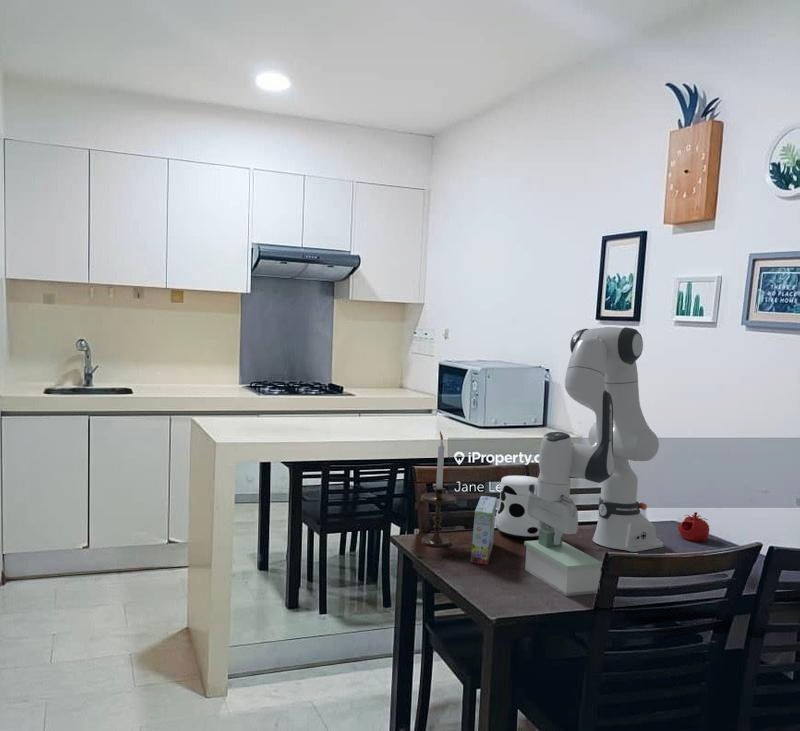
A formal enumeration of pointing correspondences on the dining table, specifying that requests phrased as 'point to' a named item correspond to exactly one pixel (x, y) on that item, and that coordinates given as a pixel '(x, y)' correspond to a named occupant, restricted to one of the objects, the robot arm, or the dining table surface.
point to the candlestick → (438, 503)
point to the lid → (561, 552)
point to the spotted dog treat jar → (516, 508)
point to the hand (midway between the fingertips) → (550, 540)
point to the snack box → (483, 530)
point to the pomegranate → (694, 528)
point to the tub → (562, 575)
